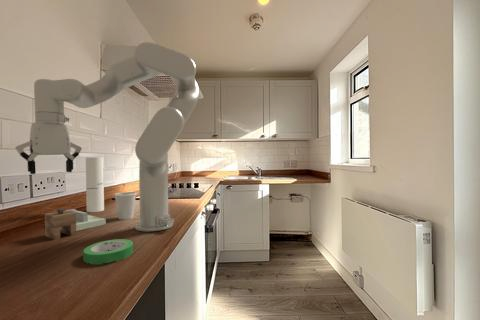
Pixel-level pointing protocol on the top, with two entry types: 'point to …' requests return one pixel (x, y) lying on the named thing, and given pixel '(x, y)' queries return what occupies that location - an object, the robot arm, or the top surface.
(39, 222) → the top surface
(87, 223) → the cleat board
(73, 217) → the walnut block
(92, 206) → the cylindrical container
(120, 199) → the dixie cup
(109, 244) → the tape roll
